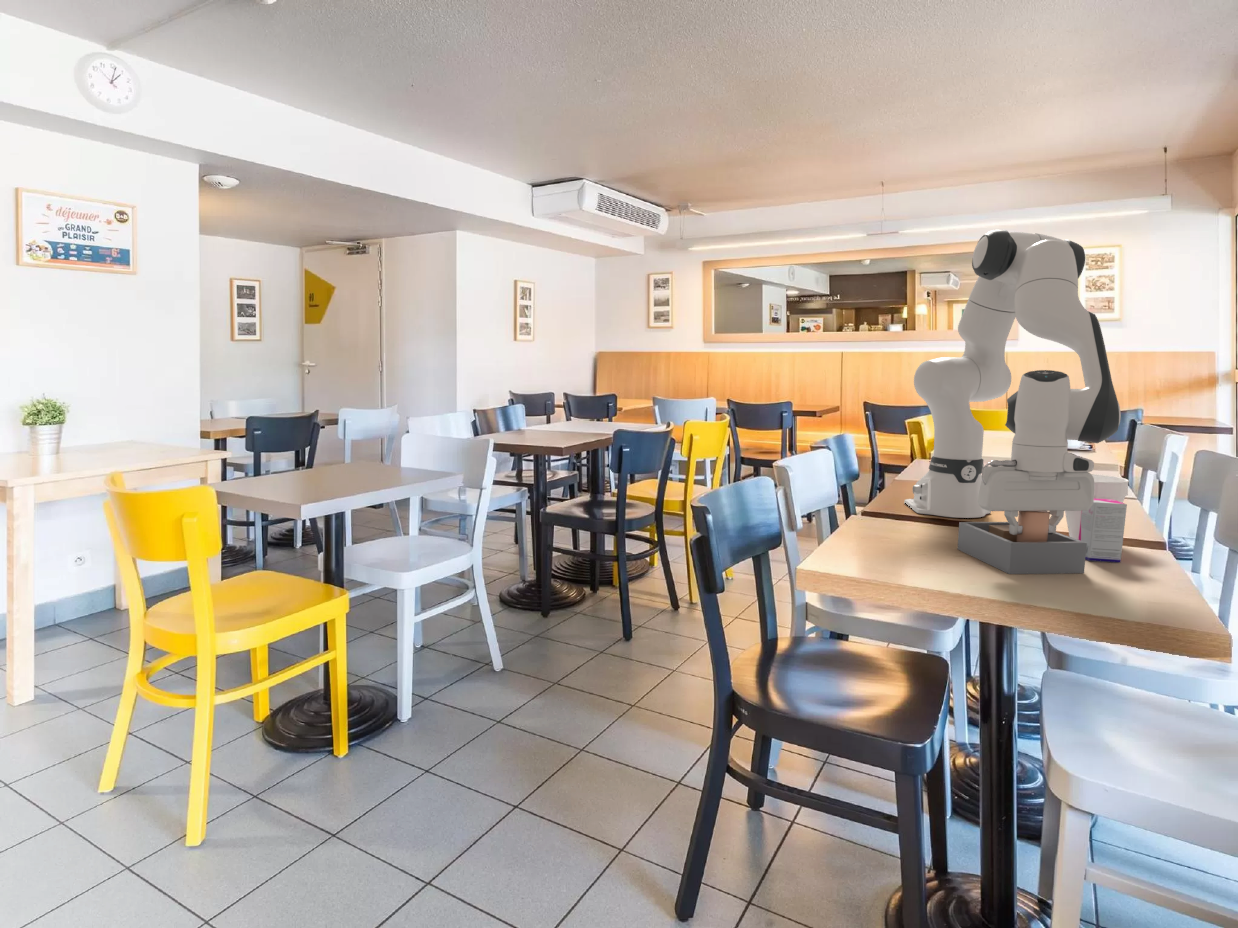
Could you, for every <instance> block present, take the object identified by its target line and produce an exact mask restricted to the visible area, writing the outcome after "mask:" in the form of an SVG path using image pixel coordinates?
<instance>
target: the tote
mask: <svg viewBox="0 0 1238 928" xmlns="http://www.w3.org/2000/svg"><path fill="white" fill-rule="evenodd" d="M1017 523H1018V521H1017ZM989 525H1010V524H1009V523H1008V521H961V522H960V521H959V524H958V534H957V535H958V537H957V550H958V551H961V552H962V553H964V554H966V555H969V556H971V557H973V558H974V559H977V560H979V561H981V562H983V563H985V564H987V565H989V566H991V567H994V568H995V569H998V570H1000V571H1002V572H1004V573H1005V574H1008V575H1028V574H1029V575H1037V574H1038V575H1039V574H1040V575H1041V574H1042V575H1045V574H1046V575H1047V574H1050V575H1051V574H1055V575H1056V574H1085V568H1086V567H1085V566H1086V559H1085V557H1086V546H1087V543H1086V542H1083V541H1080V540H1077V539H1074V538H1072V537H1069V535H1065V534H1063V533H1060V532H1057V531H1056V533H1055V534H1054V535H1048V540H1047V542H1012V541H1009V540H1007V539H1004V538H1002V537H1000V536H997V535H995V534H992V533H990V532H989Z"/></svg>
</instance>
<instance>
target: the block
mask: <svg viewBox="0 0 1238 928" xmlns="http://www.w3.org/2000/svg"><path fill="white" fill-rule="evenodd" d="M1009 526H1010V525H989V532H990V533H992V534H995V535H997V536H1000V537H1002V538H1004V539H1007V540H1009V541H1012V542H1016V540H1017V535H1012V534H1010V533H1009Z"/></svg>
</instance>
